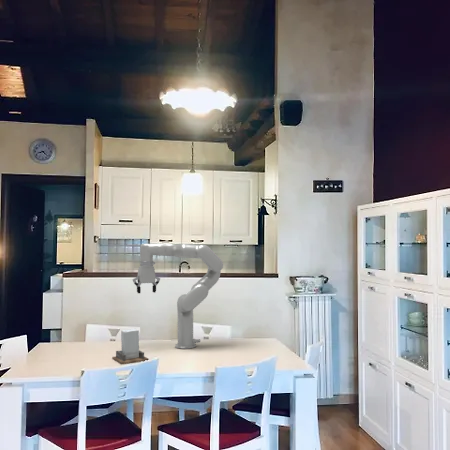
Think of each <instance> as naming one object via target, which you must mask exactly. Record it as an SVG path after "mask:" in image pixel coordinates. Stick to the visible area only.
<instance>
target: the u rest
mask: <svg viewBox="0 0 450 450" xmlns="http://www.w3.org/2000/svg"><path fill="white" fill-rule="evenodd" d="M111 359H112V360H114V361H115V362H116V363H118V364H120V365H127V364H135V363H142V362H141V361H143V362H146V361H145V360H149V361H150V359H149V358H148V357H146V356H145V352H143V351H142V350H140V349H139V357H138V358H132V359H126V355H125V354H123V353H122V349H121V350H115V356H112V358H111Z"/></svg>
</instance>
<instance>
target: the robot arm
mask: <svg viewBox="0 0 450 450" xmlns="http://www.w3.org/2000/svg"><path fill="white" fill-rule="evenodd" d="M139 250H140V251H139V252H140V255H139V256H140V257H139V258H140V261H139V262H140V263H139V264H140V266H138V270H137V276H136V277H134V278H133V279H132V282H133V284H134V285H135V286H136V292H137V294H141V288H142V287H141V285H142V284H152V293H154V294H155V293H156V291H157V286H158V284H159V283H160V281H161V277H158V276H157V275H156V270H155V266H154V265H155V264H156V262H154V256H157V257H158V256H159V257H160V256H161V257H176V258H182V259H183V258H184V259H185V258H186V259H201V260H202V262H203V263H204V264H205V265H206V266H207V271H206V273H205V275H203V276H202V277H201V278H200V279H199V280H198V281H197V282H195V283H194V284H192V286H191V289H190V291H188V292H186V293H185V294H181V295H180V296H178V298H177V302H176V307H177V343H176V344H175V345H174V347H175V348H176V349H180V350H181V349H182V350H186V349H194V348H196V347H197V345H196V343H201V339H199V338H194V309H196V308H197V307H198V306H199V305H200V304H201V303H203V302H204V300H205V299H206V298H207V297H208V295H209V293H210V290H211V289H212V288H213V287H214V286H215V285H216V284H217V283H218V281H219V280H220V276H221V272H222V269H223V268H224V262H223V260H222V259H221V258H220V257H219V256H218V255H217V254H216V253H215V252H214V251H213V250H212V248H210V246H208V245H207V244H193V243H177V244H174V243H172V244H171V243H153V244H152V243H142V244H141V245H140V249H139Z"/></svg>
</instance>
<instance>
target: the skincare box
mask: <svg viewBox="0 0 450 450" xmlns="http://www.w3.org/2000/svg"><path fill="white" fill-rule="evenodd" d="M120 331H121V350H122V353H123V354H125V355H126V359H132V358H138V357H139V350H140V332H139V331H140V330H138V329H136V328H131V329H123V330H120Z"/></svg>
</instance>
